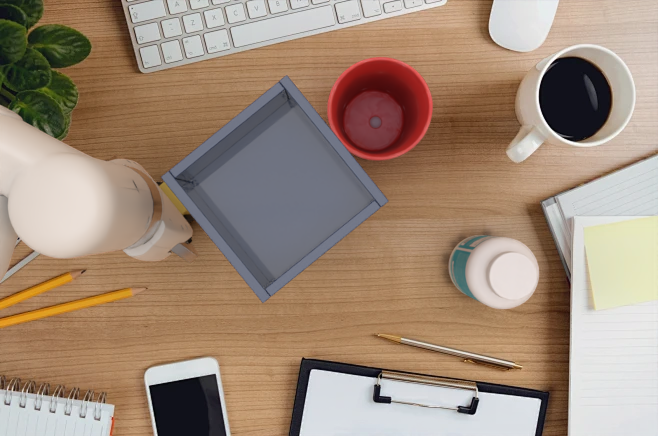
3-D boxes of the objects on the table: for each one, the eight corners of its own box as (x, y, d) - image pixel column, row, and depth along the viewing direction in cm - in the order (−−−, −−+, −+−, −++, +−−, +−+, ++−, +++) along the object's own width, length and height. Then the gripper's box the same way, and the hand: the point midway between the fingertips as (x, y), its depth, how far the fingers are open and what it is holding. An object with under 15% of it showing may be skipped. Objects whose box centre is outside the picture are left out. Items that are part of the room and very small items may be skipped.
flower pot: (425, 160, 72) (440, 152, 63) (333, 173, 72) (334, 166, 63) (413, 71, 72) (426, 49, 63) (321, 84, 72) (320, 64, 63)
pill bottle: (486, 309, 72) (522, 330, 59) (434, 274, 72) (459, 287, 59) (522, 257, 72) (566, 266, 59) (470, 221, 72) (503, 223, 59)
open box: (176, 180, 52) (160, 177, 47) (290, 88, 52) (286, 74, 47) (269, 294, 52) (262, 303, 47) (383, 202, 52) (389, 201, 47)
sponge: (145, 209, 72) (130, 209, 67) (178, 183, 72) (165, 180, 67) (166, 235, 72) (153, 237, 67) (199, 209, 72) (188, 208, 67)
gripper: (23, 160, 53) (101, 174, 72) (143, 308, 53) (191, 284, 72) (89, 105, 53) (150, 133, 72) (210, 254, 53) (240, 244, 72)
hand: (170, 209), depth 72 cm, fingers closed on sponge, 4 cm apart
